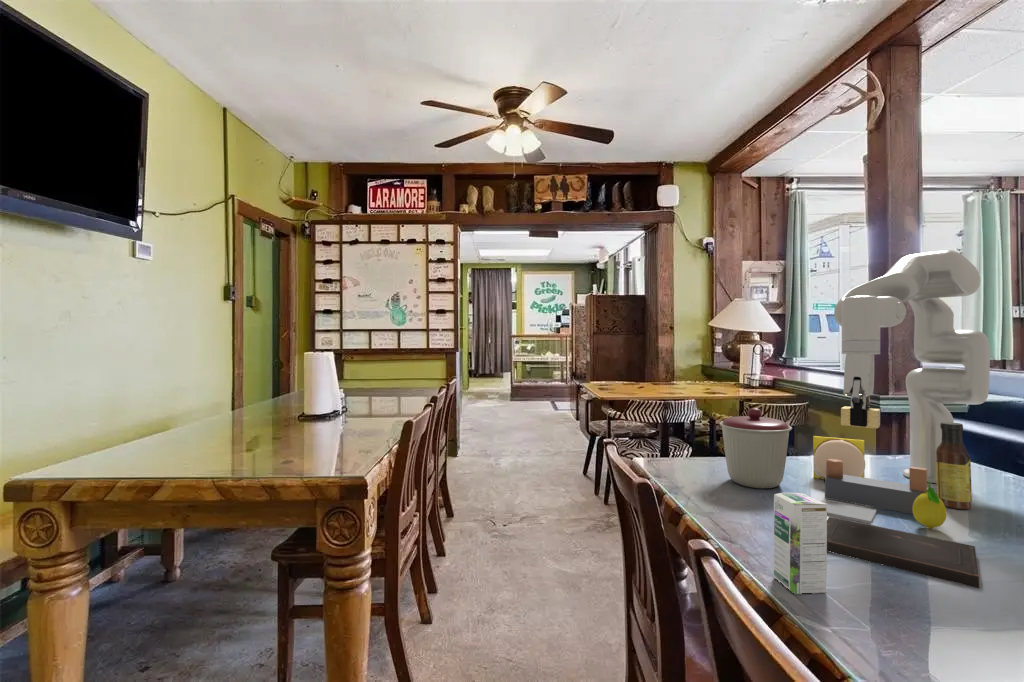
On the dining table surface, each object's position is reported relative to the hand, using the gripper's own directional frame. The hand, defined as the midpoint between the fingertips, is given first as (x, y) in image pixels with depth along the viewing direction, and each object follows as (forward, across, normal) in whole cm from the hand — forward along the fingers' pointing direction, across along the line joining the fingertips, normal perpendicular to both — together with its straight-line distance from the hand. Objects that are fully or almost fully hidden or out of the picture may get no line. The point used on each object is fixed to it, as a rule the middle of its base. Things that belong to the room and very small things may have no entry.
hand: (860, 423), depth 116 cm
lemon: (+20, +5, +13) cm, 25 cm away
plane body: (+20, -7, +2) cm, 21 cm away
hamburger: (+20, -22, -8) cm, 31 cm away
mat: (+20, +5, -2) cm, 21 cm away
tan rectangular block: (0, 0, 0) cm, 0 cm away
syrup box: (+21, +50, -2) cm, 54 cm away
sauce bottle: (+20, -17, +16) cm, 31 cm away
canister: (+20, -5, -25) cm, 32 cm away
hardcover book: (+21, +24, +8) cm, 33 cm away
